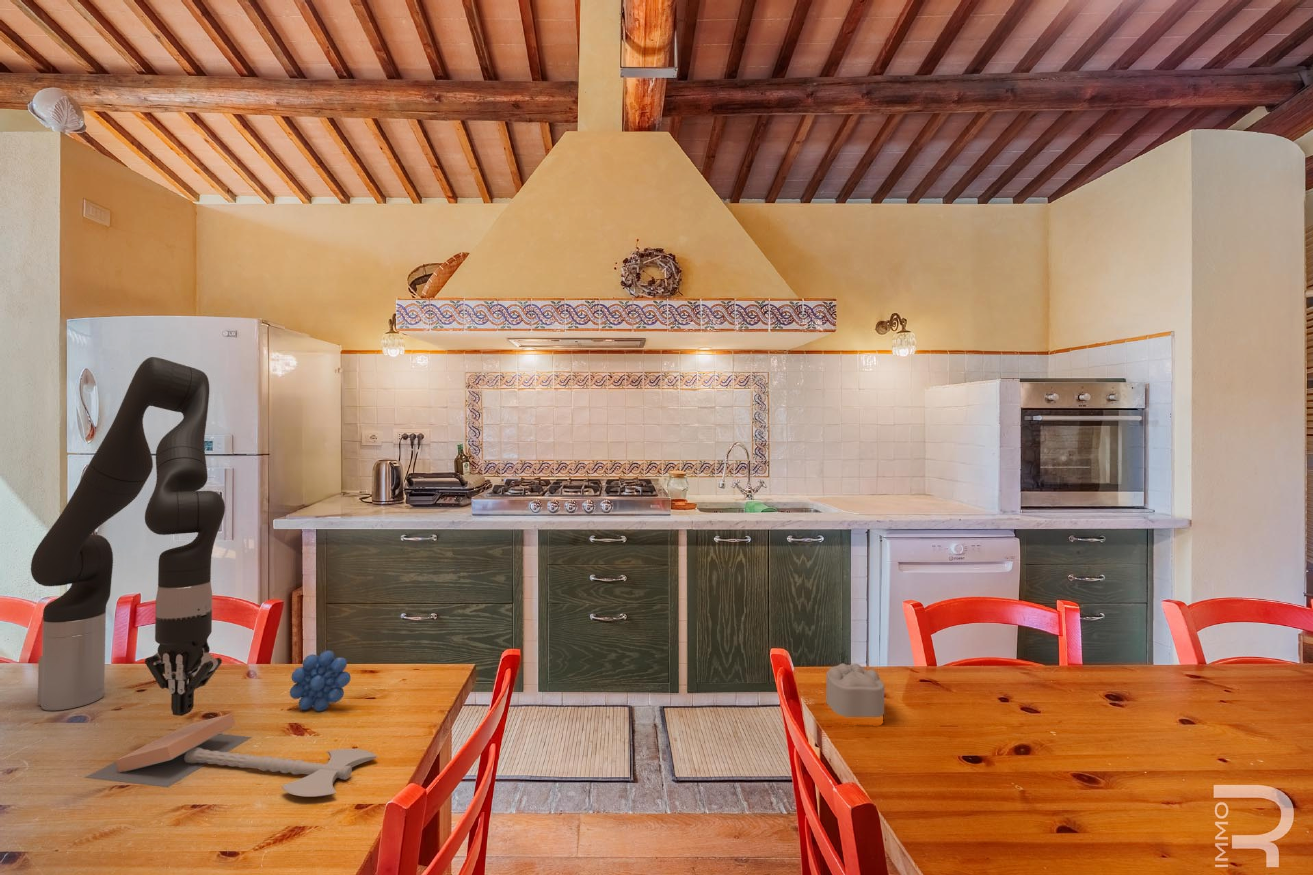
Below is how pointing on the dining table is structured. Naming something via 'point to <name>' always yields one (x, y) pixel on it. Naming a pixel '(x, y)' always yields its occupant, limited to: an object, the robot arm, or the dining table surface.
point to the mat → (168, 765)
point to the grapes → (320, 681)
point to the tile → (175, 743)
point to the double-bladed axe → (291, 767)
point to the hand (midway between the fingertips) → (182, 713)
